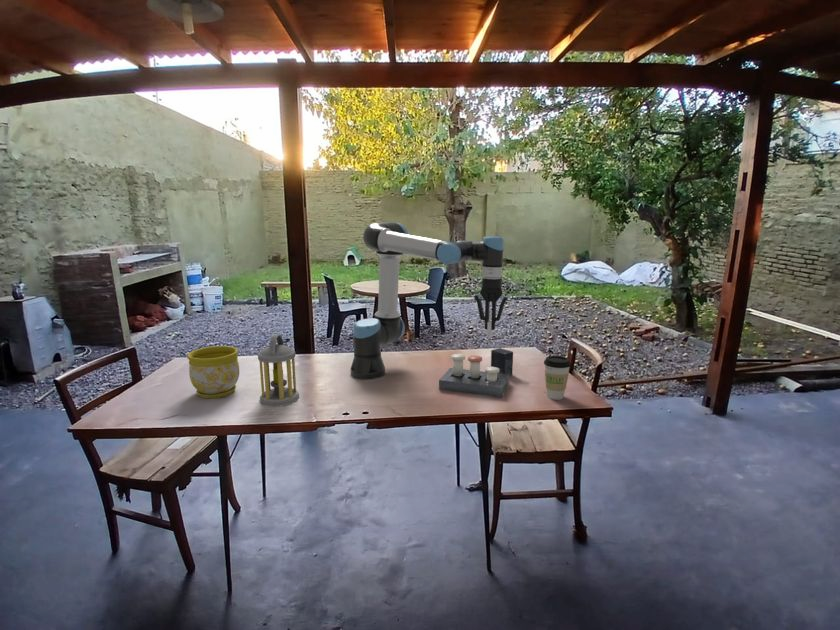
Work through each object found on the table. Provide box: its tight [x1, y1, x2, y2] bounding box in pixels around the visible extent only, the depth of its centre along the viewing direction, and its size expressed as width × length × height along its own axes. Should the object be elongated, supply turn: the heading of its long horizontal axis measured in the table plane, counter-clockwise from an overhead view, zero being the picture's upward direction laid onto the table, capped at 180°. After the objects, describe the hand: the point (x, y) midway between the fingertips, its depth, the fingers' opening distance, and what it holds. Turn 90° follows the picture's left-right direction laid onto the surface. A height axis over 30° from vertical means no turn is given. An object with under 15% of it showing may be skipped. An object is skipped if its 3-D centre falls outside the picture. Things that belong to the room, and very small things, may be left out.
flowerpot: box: [186, 345, 240, 399], centre depth 183 cm, size 18×18×16 cm
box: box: [490, 347, 514, 377], centre depth 205 cm, size 8×6×11 cm
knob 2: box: [484, 366, 499, 382], centre depth 188 cm, size 6×6×8 cm
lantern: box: [257, 333, 300, 407], centre depth 176 cm, size 14×14×25 cm
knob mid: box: [467, 355, 483, 378], centre depth 189 cm, size 6×6×8 cm
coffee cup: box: [543, 355, 572, 401], centre depth 179 cm, size 10×10×15 cm
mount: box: [438, 367, 510, 398], centre depth 191 cm, size 25×16×4 cm, turn 70°
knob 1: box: [450, 353, 466, 376], centre depth 192 cm, size 6×6×8 cm
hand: (489, 337), depth 185 cm, fingers closed
